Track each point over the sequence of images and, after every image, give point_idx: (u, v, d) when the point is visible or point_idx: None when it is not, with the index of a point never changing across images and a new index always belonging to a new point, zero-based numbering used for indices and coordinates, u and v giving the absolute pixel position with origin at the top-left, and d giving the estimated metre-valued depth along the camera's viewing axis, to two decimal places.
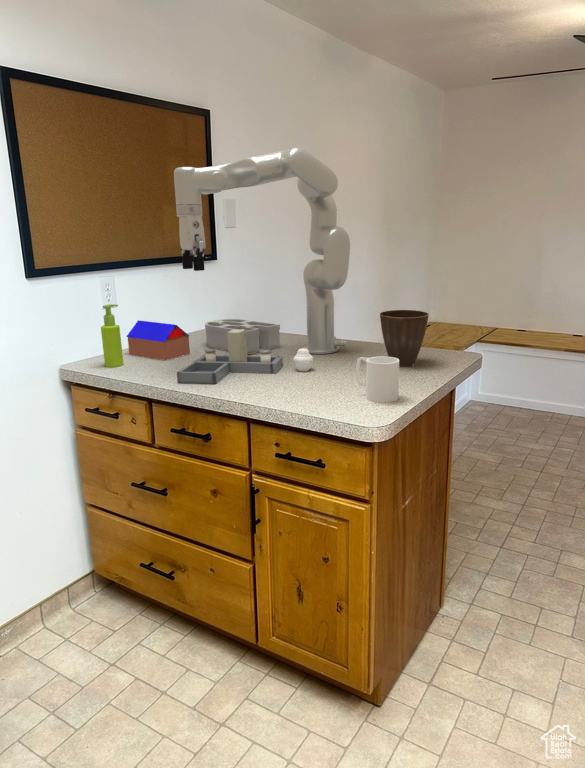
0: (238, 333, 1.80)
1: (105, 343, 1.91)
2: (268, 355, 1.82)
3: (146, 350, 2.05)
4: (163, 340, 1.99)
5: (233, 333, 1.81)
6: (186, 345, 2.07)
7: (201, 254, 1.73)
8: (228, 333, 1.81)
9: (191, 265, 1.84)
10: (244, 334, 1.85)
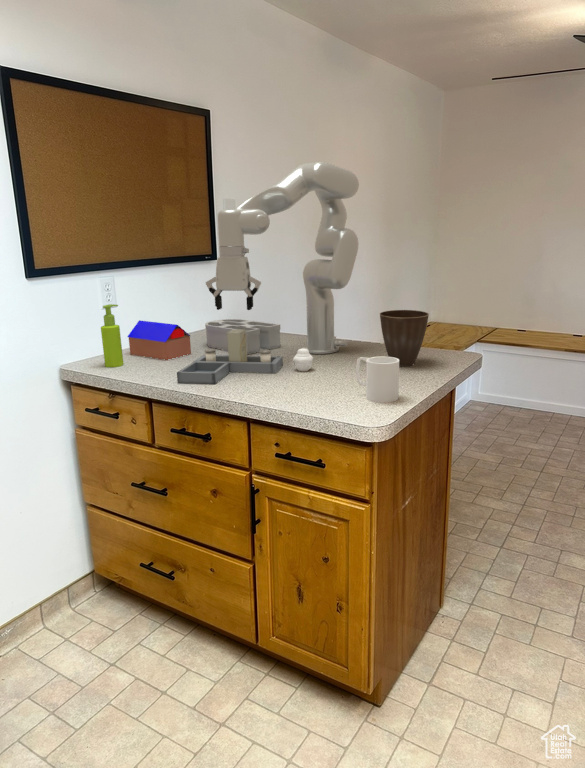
0: (238, 333, 1.80)
1: (105, 343, 1.91)
2: (268, 355, 1.82)
3: (147, 350, 2.05)
4: (164, 340, 1.99)
5: (233, 333, 1.81)
6: (187, 345, 2.07)
7: None
8: (228, 333, 1.81)
9: (221, 305, 1.83)
10: (244, 334, 1.85)
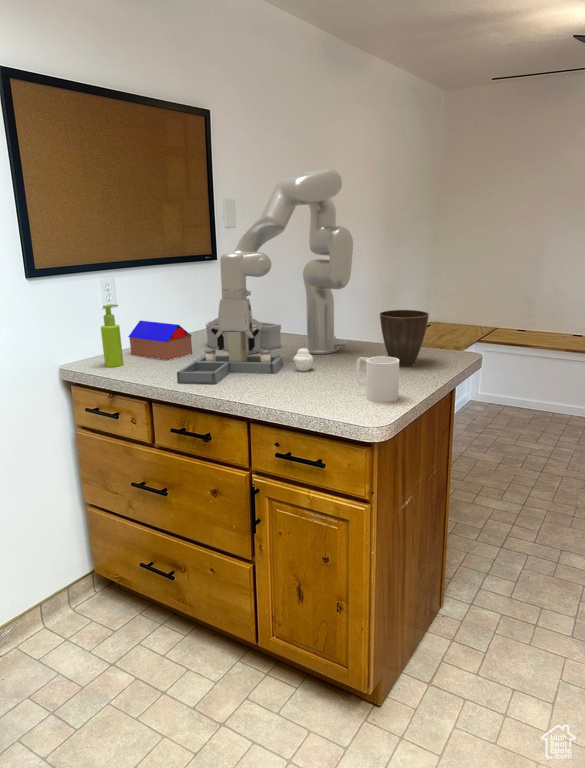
0: (238, 333, 1.80)
1: (105, 343, 1.91)
2: (268, 355, 1.82)
3: (149, 350, 2.05)
4: (166, 340, 1.99)
5: (233, 333, 1.81)
6: (188, 345, 2.07)
7: (256, 334, 1.82)
8: (228, 333, 1.81)
9: (223, 345, 1.86)
10: (244, 334, 1.85)
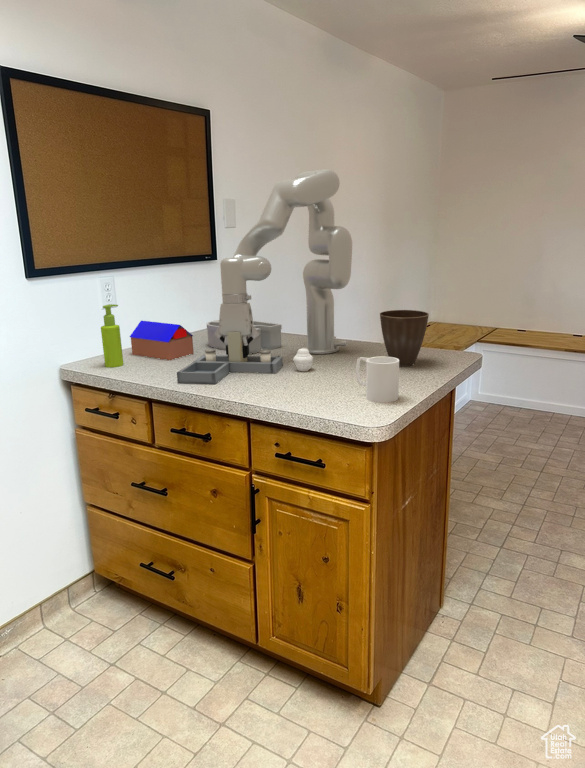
0: (238, 333, 1.80)
1: (105, 343, 1.91)
2: (268, 355, 1.82)
3: (150, 350, 2.05)
4: (167, 340, 1.99)
5: (233, 333, 1.81)
6: (190, 345, 2.07)
7: None
8: (228, 333, 1.81)
9: None
10: None
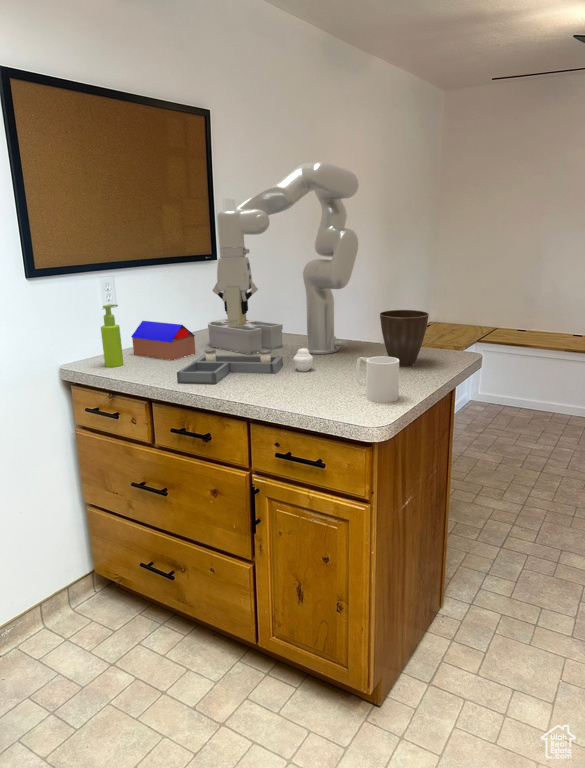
0: (237, 288, 1.77)
1: (105, 343, 1.91)
2: (268, 355, 1.82)
3: (152, 350, 2.05)
4: (170, 340, 1.99)
5: (232, 288, 1.77)
6: (192, 345, 2.07)
7: (249, 297, 1.80)
8: (226, 288, 1.78)
9: None
10: None
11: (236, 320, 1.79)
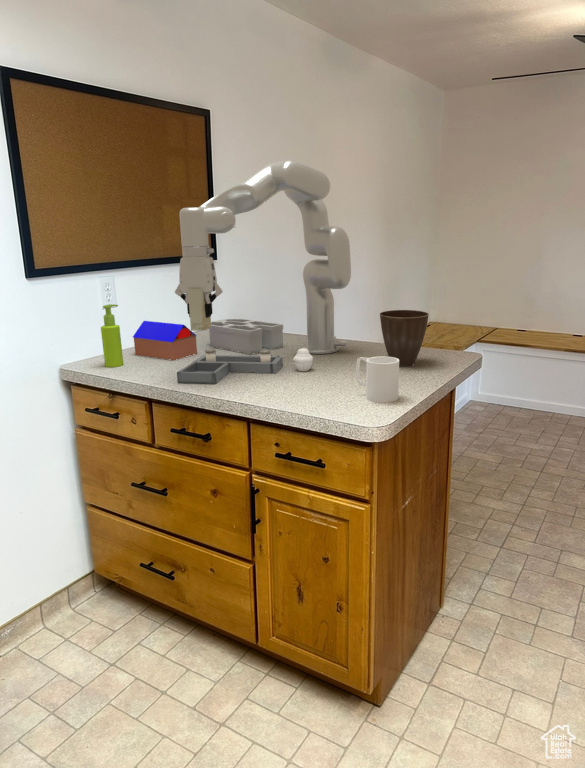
0: (200, 289, 1.67)
1: (105, 343, 1.91)
2: (268, 355, 1.82)
3: (154, 350, 2.04)
4: (171, 340, 1.99)
5: (194, 289, 1.67)
6: (193, 345, 2.07)
7: (213, 300, 1.70)
8: (189, 289, 1.67)
9: None
10: None
11: (199, 323, 1.69)
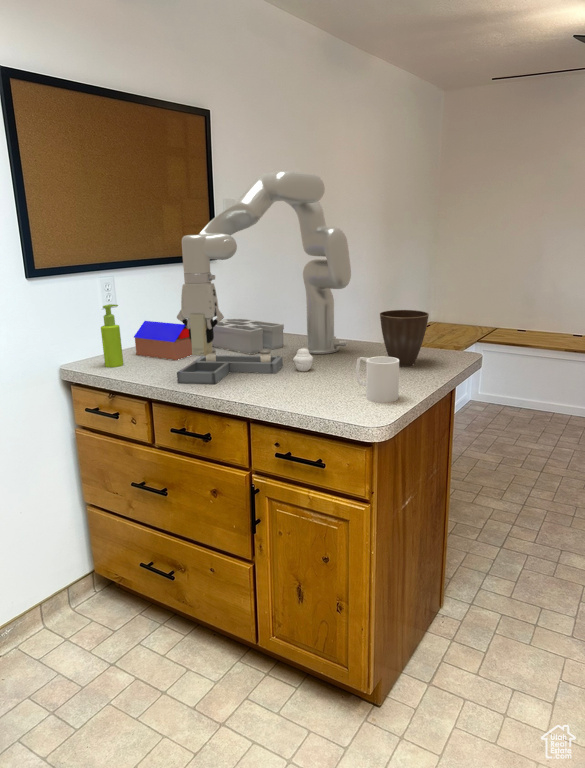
0: (201, 315, 1.68)
1: (105, 343, 1.91)
2: (268, 355, 1.82)
3: (155, 350, 2.04)
4: (173, 340, 1.98)
5: (196, 315, 1.69)
6: None
7: (214, 325, 1.72)
8: (191, 315, 1.69)
9: None
10: None
11: (200, 348, 1.71)
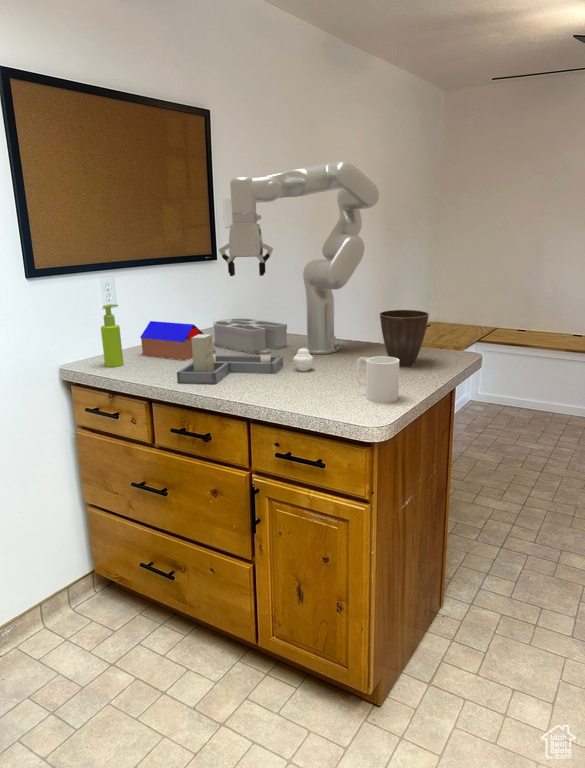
0: (203, 338, 1.70)
1: (105, 343, 1.91)
2: (268, 355, 1.82)
3: (163, 350, 2.04)
4: (182, 340, 1.98)
5: (197, 338, 1.71)
6: None
7: (266, 259, 1.84)
8: (192, 338, 1.71)
9: (234, 272, 1.88)
10: (210, 339, 1.75)
11: (202, 371, 1.73)
